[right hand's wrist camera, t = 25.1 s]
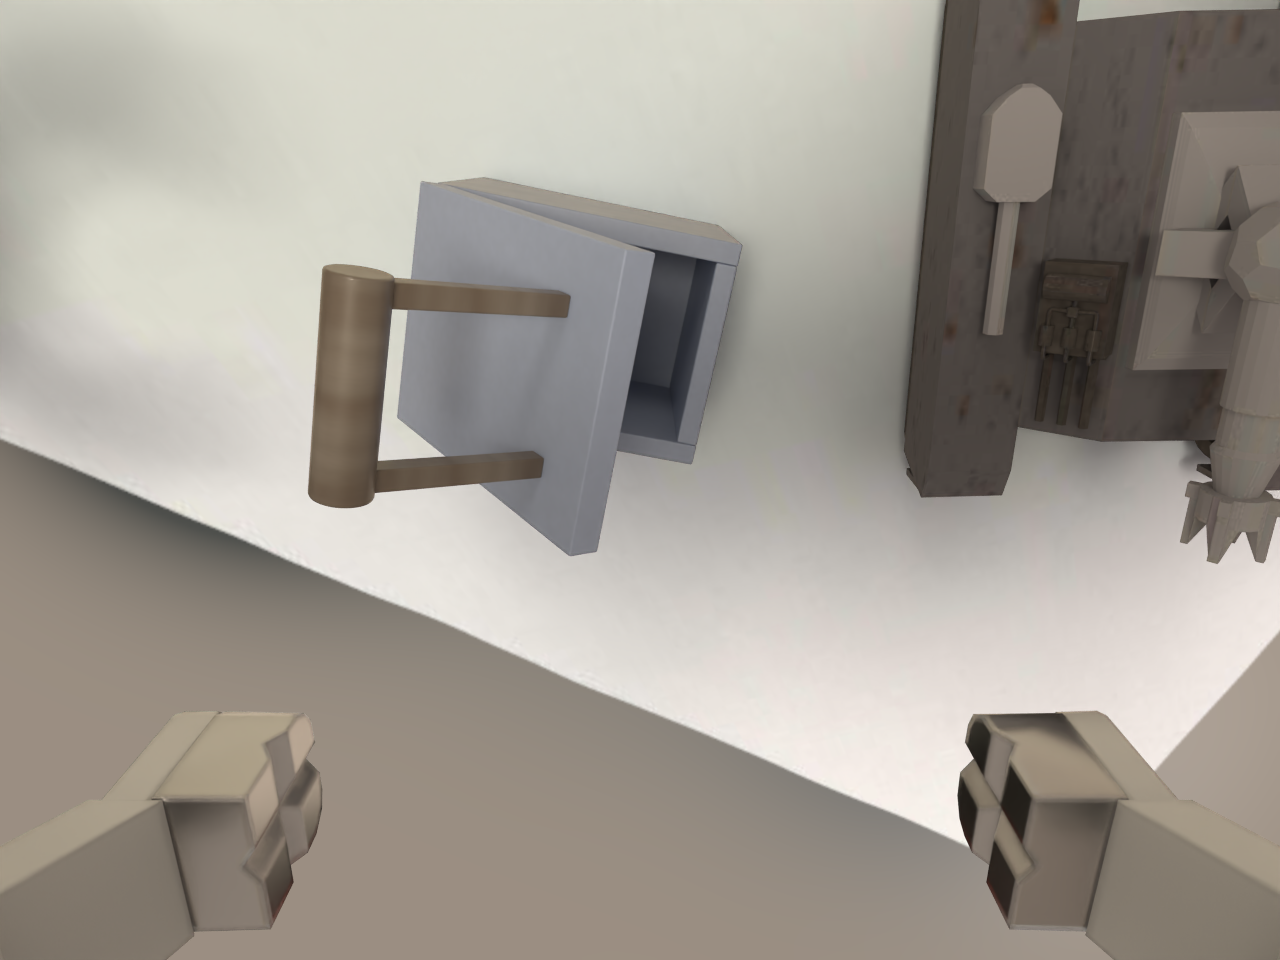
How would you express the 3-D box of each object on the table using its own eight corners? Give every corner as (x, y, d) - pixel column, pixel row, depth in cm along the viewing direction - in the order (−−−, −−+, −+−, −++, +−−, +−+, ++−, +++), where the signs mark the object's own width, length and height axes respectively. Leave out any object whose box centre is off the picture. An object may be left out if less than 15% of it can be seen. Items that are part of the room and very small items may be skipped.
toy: (943, -58, 39) (1113, -178, 25) (1384, -65, 39) (1801, -191, 25) (894, 466, 48) (999, 593, 34) (1253, 461, 48) (1506, 586, 34)
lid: (656, 252, 24) (370, 218, 19) (597, 552, 27) (338, 594, 22) (446, 184, 33) (212, 148, 28) (421, 416, 36) (206, 424, 31)
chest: (719, 225, 44) (742, 244, 34) (681, 401, 47) (692, 465, 37) (482, 177, 43) (437, 182, 33) (460, 359, 46) (412, 413, 36)
